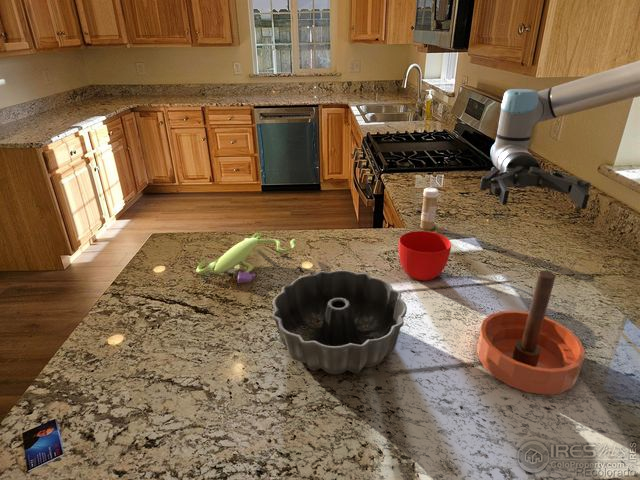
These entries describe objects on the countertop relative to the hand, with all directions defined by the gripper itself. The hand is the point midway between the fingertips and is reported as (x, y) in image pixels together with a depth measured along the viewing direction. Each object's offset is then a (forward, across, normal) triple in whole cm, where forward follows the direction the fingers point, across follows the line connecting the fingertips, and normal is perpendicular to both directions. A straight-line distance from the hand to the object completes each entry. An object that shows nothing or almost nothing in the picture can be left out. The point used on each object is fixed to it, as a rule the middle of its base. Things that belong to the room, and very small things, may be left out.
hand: (545, 200), depth 78 cm
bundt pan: (+10, +36, -30) cm, 48 cm away
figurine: (-19, +66, -30) cm, 75 cm away
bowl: (+10, 0, -30) cm, 32 cm away
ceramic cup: (-22, +18, -30) cm, 42 cm away
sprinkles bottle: (-52, +16, -30) cm, 62 cm away
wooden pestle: (+10, 0, -29) cm, 31 cm away
